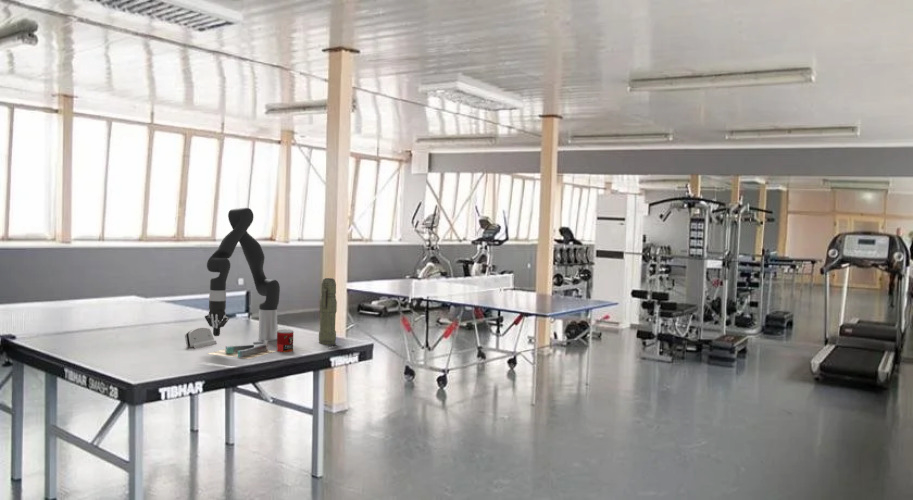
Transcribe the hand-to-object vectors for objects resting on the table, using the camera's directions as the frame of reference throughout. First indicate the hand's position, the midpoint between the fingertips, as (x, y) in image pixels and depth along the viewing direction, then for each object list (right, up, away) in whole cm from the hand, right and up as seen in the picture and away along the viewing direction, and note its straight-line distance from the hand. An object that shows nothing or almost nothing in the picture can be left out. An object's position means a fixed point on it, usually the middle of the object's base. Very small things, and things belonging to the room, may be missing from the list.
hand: (216, 335), depth 324 cm
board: (+12, -9, +1) cm, 15 cm away
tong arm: (+13, -8, +1) cm, 15 cm away
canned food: (+30, -10, +10) cm, 33 cm away
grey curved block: (-16, -8, +22) cm, 28 cm away
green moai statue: (+46, -9, +35) cm, 59 cm away
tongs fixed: (+18, -8, -1) cm, 20 cm away
